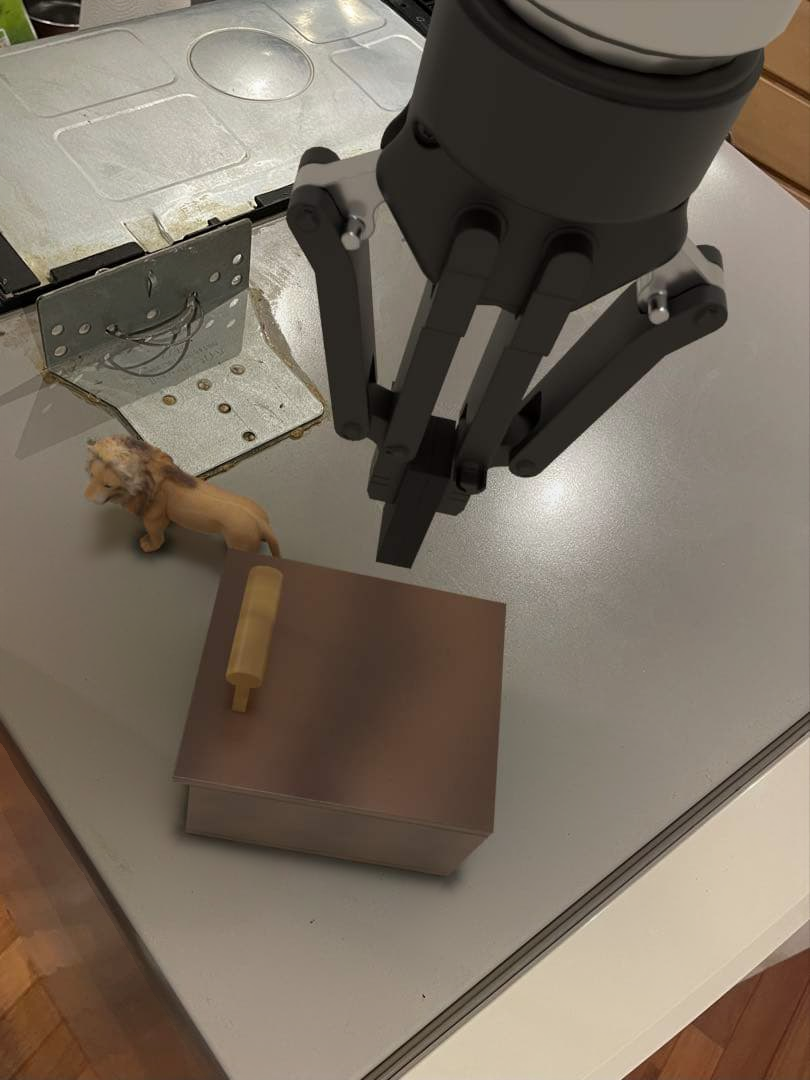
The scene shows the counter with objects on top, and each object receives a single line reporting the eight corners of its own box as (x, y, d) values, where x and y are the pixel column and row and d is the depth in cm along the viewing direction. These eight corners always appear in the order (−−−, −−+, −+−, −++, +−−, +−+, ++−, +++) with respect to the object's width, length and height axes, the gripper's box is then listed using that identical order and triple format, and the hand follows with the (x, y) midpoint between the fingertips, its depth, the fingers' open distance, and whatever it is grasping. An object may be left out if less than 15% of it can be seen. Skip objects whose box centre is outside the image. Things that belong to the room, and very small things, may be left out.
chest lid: (172, 782, 49) (173, 739, 44) (227, 554, 57) (234, 495, 52) (489, 836, 51) (525, 801, 46) (502, 609, 59) (535, 557, 54)
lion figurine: (76, 551, 65) (66, 472, 57) (104, 487, 68) (98, 404, 60) (294, 609, 66) (312, 539, 58) (312, 543, 69) (332, 469, 61)
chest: (184, 832, 57) (189, 785, 50) (232, 625, 64) (242, 557, 57) (447, 876, 59) (489, 837, 51) (463, 670, 66) (502, 609, 59)
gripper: (296, -14, 19) (222, 584, 38) (920, 158, 20) (543, 648, 40) (350, -184, 23) (258, 434, 42) (865, -30, 24) (548, 497, 44)
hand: (396, 537), depth 41 cm, fingers closed
